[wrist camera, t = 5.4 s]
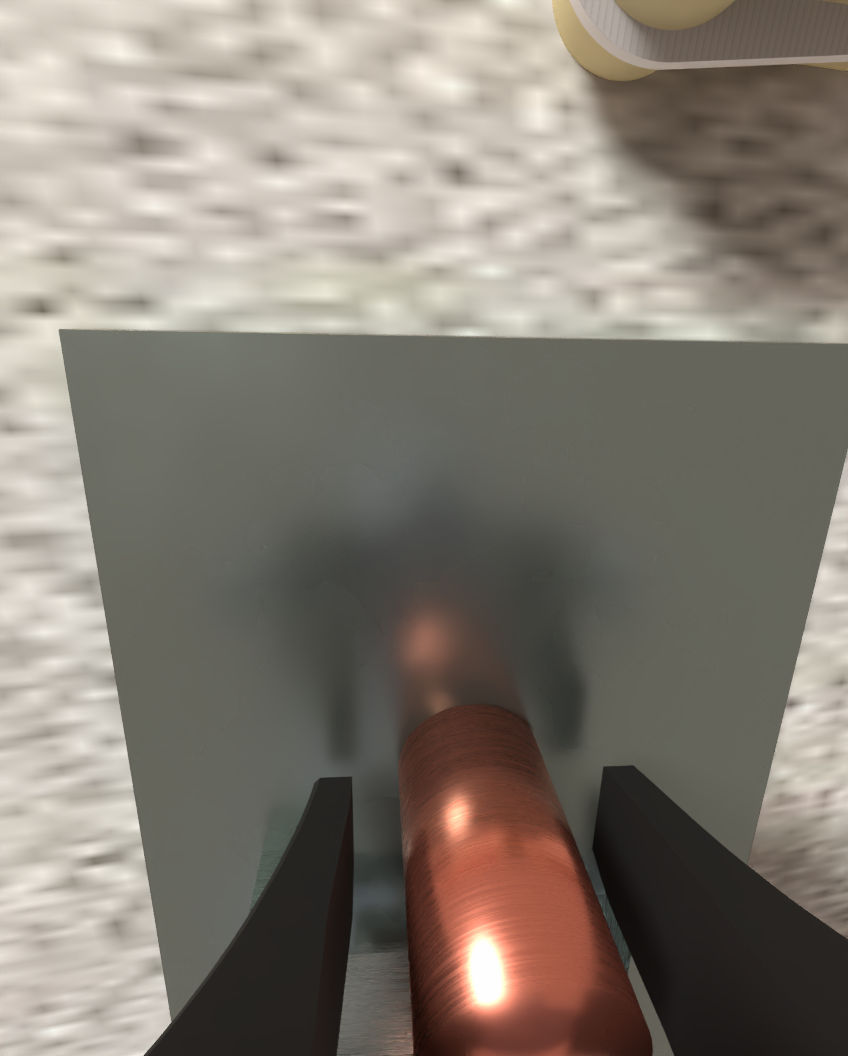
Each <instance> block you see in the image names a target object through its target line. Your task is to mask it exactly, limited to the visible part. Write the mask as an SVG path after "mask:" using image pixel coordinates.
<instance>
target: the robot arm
mask: <svg viewBox="0 0 848 1056" xmlns="http://www.w3.org/2000/svg"><path fill="white" fill-rule="evenodd" d="M592 849H593V852H594V856H595V859H596V863H597V866H598V869H599V873H600V876H601V879H602V883H603V886H604V889H605V892H606V895H607V898H608V901H609V904H610V907H611V909H612V911H613V914H614V916H615V919H616V921H617V923H618V926H619V928H620V930H621V933H622V935H623V937H624V940H625V942H626V944H627V947H628V949H629V951H630V954H631V956H632V958H633V960H634V963H635V965H636V967H637V970H638V972H639V974H640V976H641V979H642V981H643V983H644V986H645V988H646V990H647V993H648V995H649V997H650V999H651V1002H652V1004H653V1006H654V1009H655V1011H656V1013H657V1016H658V1018H659V1020H660V1022H661V1025H662V1027H663V1029H664V1032H665V1034H666V1037H667V1039H668V1042H669V1044H670V1047H671V1049H672V1052H673V1054H674V1056H848V939H846V938H845V937H843V936H842V935H840V934H839V933H838V932H836V931H835V930H833V929H832V928H830V927H829V926H828V925H826V924H825V923H823V922H822V921H820V920H819V919H818V918H816V917H815V916H813V915H812V914H810V913H809V912H808V911H806V910H805V909H803V908H802V907H801V906H799V905H798V904H796V903H795V902H794V901H792V900H791V899H790V898H788V897H787V896H786V895H784V894H783V893H782V892H780V891H779V890H778V889H777V888H775V887H774V886H773V885H772V884H770V883H769V882H768V881H766V880H765V879H764V878H763V877H761V876H760V875H759V874H758V873H756V872H755V871H754V870H752V869H751V868H750V867H749V866H747V865H746V864H745V863H744V862H743V861H741V860H740V859H739V858H738V857H737V856H735V855H734V854H733V853H732V852H730V851H729V850H728V849H727V848H726V847H725V846H723V845H722V844H721V843H720V842H719V841H718V840H716V839H715V838H714V837H713V836H712V835H711V834H709V833H708V832H707V831H706V830H705V829H704V828H703V827H701V826H700V825H699V824H698V823H697V822H696V821H695V820H694V819H692V818H691V817H690V816H689V815H688V814H687V813H686V812H685V811H684V810H682V809H681V808H680V807H679V806H678V805H677V804H676V803H675V802H674V801H672V800H671V799H670V798H669V797H668V796H667V795H666V794H665V793H664V792H663V791H662V790H660V789H659V788H658V787H657V786H656V785H655V784H654V783H653V782H652V781H651V780H649V779H648V778H647V777H646V776H645V775H644V774H643V773H642V772H640V771H639V770H638V769H637V768H636V767H635V766H634V765H627V766H603V772H602V780H601V787H600V795H599V802H598V809H597V817H596V824H595V831H594V839H593V846H592ZM353 884H354V835H353V792H352V776H350V777H325V778H319V779H318V780H317V781H316V782H315V783H314V785H313V789H312V792H311V795H310V797H309V800H308V802H307V805H306V807H305V810H304V812H303V815H302V817H301V819H300V821H299V823H298V826H297V828H296V830H295V832H294V834H293V836H292V838H291V840H290V842H289V844H288V846H287V848H286V850H285V852H284V854H283V856H282V857H281V859H280V861H279V863H278V865H277V867H276V869H275V871H274V873H273V874H272V876H271V878H270V880H269V881H268V883H267V885H266V886H265V888H264V890H263V892H262V893H261V895H260V897H259V898H258V900H257V902H256V903H255V905H254V907H253V908H252V910H251V912H250V913H249V915H248V917H247V918H246V920H245V921H244V923H243V924H242V926H241V928H240V929H239V931H238V932H237V934H236V935H235V937H234V938H233V940H232V941H231V943H230V944H229V946H228V947H227V949H226V950H225V951H224V953H223V954H222V956H221V957H220V959H219V960H218V961H217V963H216V964H215V966H214V967H213V969H212V970H211V971H210V973H209V974H208V976H207V977H206V978H205V980H204V981H203V982H202V983H201V985H200V986H199V987H198V989H197V990H196V991H195V993H194V994H193V995H192V997H191V998H190V999H189V1001H188V1002H187V1003H186V1005H185V1006H184V1007H183V1009H182V1010H181V1011H180V1012H179V1014H178V1015H177V1016H176V1017H175V1019H174V1020H173V1021H172V1022H171V1024H170V1025H169V1026H168V1027H167V1029H166V1030H165V1031H164V1032H163V1034H162V1035H161V1036H160V1037H159V1038H158V1040H157V1041H156V1042H155V1043H154V1044H153V1045H152V1047H151V1048H150V1049H149V1050H148V1051H147V1052H146V1053H145V1055H144V1056H337V1049H338V1040H339V1032H340V1023H341V1014H342V1006H343V997H344V989H345V980H346V971H347V963H348V954H349V945H350V936H351V928H352V919H353Z"/></svg>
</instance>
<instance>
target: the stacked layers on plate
mask: <svg viewBox="0 0 848 1056" xmlns="http://www.w3.org/2000/svg"><path fill="white" fill-rule="evenodd" d="M552 2H553V11H554V17H555V21H556V25H557V28H558V31H559V34H560V36H561V38H562V41H563V43H564V44H565V46H566V48H567V49H568V51H569V52H570V54H571V55H572V56H573V58H574V59H575V60H576V61H577V62H578V63H579V64H580V65H581V66H582V67H584V68H585V69H586V70H588V71H589V72H591V73H592V74H594V75H596V76H599V77H601V78H604V79H608V80H612V81H631V80H636V79H639V78H642V77H645V76H647V75H650V74H652V73H653V72H655V71H657V70H667V69H690V68H713V67H736V66H759V65H783V64H802V65H809V66H815V67H822V68H829V69H836V70H842V71H848V0H552Z"/></svg>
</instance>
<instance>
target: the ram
mask: <svg viewBox="0 0 848 1056" xmlns="http://www.w3.org/2000/svg"><path fill="white" fill-rule="evenodd" d="M398 778H399V797H400V816H401V834H402V853H403V871H404V890H405V908H406V927H407V945H408V951H402V952H387V953H371V954H355V955H348V963H347V971H346V980H345V989H344V997H343V1006H342V1014H341V1023H340V1032H339V1040H338V1049H337V1056H652V1054H653V1045H652V1038H651V1034H650V1031H649V1028H648V1025H647V1023H646V1020H645V1018H644V1015H643V1013H642V1010H641V1008H640V1005H639V1003H638V1000H637V997H636V995H635V992H634V990H633V987H632V985H631V982H630V980H629V977H628V974H627V972H626V969H625V967H624V964H623V962H622V959H621V957H620V954H619V951H618V949H617V946H616V944H615V941H614V939H613V936H612V934H611V931H610V928H609V926H608V923H607V921H606V918H605V916H604V913H603V911H602V908H601V905H600V903H599V900H598V898H597V895H596V893H595V890H594V888H593V885H592V882H591V880H590V877H589V875H588V872H587V870H586V867H585V865H584V862H583V859H582V857H581V854H580V852H579V849H578V847H577V844H576V842H575V839H574V836H573V834H572V831H571V829H570V826H569V824H568V821H567V819H566V816H565V813H564V811H563V808H562V806H561V803H560V801H559V798H558V796H557V793H556V790H555V788H554V785H553V783H552V780H551V778H550V775H549V773H548V770H547V767H546V765H545V762H544V760H543V757H542V755H541V752H540V750H539V747H538V744H537V742H536V740H535V738H534V736H533V734H532V732H531V731H530V729H529V728H528V727H527V726H526V725H525V724H524V723H523V722H522V721H521V720H520V719H519V718H517V717H516V716H514V715H513V714H511V713H509V712H507V711H505V710H502V709H500V708H496V707H492V706H486V705H463V706H458V707H453V708H450V709H447V710H444V711H442V712H439V713H437V714H435V715H433V716H432V717H430V718H428V719H427V720H425V721H424V722H423V723H421V724H420V725H419V726H418V727H417V728H416V729H415V730H414V731H413V732H412V733H411V735H410V736H409V737H408V739H407V740H406V742H405V744H404V746H403V748H402V751H401V753H400V757H399V762H398Z"/></svg>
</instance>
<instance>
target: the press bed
mask: <svg viewBox="0 0 848 1056" xmlns="http://www.w3.org/2000/svg"><path fill="white" fill-rule="evenodd" d="M59 335H60V341H61V347H62V353H63V359H64V365H65V371H66V377H67V384H68V390H69V396H70V402H71V408H72V414H73V420H74V427H75V433H76V439H77V445H78V451H79V457H80V463H81V469H82V476H83V482H84V488H85V494H86V500H87V506H88V512H89V519H90V525H91V531H92V537H93V543H94V549H95V555H96V561H97V568H98V574H99V580H100V586H101V592H102V598H103V604H104V611H105V617H106V623H107V629H108V635H109V641H110V647H111V653H112V660H113V666H114V672H115V678H116V684H117V690H118V696H119V703H120V709H121V715H122V721H123V727H124V733H125V739H126V745H127V752H128V758H129V764H130V770H131V776H132V782H133V788H134V795H135V801H136V807H137V813H138V819H139V825H140V831H141V837H142V844H143V850H144V856H145V862H146V868H147V874H148V880H149V887H150V893H151V899H152V905H153V911H154V917H155V923H156V929H157V936H158V942H159V948H160V954H161V960H162V966H163V972H164V979H165V985H166V991H167V997H168V1003H169V1009H170V1015H171V1021H173V1020H174V1019H175V1017H176V1016H177V1015H178V1014H179V1012H180V1011H181V1010H182V1009H183V1007H184V1006H185V1005H186V1003H187V1002H188V1001H189V999H190V998H191V997H192V995H193V994H194V993H195V991H196V990H197V989H198V987H199V986H200V985H201V983H202V982H203V981H204V980H205V978H206V977H207V976H208V974H209V973H210V971H211V970H212V969H213V967H214V966H215V964H216V963H217V961H218V960H219V959H220V957H221V956H222V954H223V953H224V951H225V950H226V949H227V947H228V946H229V944H230V943H231V941H232V940H233V938H234V937H235V935H236V934H237V932H238V931H239V929H240V928H241V926H242V924H243V923H244V921H245V920H246V918H247V917H248V915H249V913H250V912H251V910H252V908H253V907H254V905H255V903H256V902H257V900H258V898H259V897H260V895H261V893H262V892H263V890H264V888H265V886H266V885H267V883H268V881H269V880H270V878H271V876H272V874H273V873H274V871H275V869H276V867H277V865H278V863H279V861H280V859H281V857H282V856H283V854H284V852H285V850H286V848H287V846H288V844H289V842H290V840H291V838H292V836H293V834H294V832H295V830H296V828H297V826H298V823H299V821H300V819H301V817H302V815H303V812H304V810H305V807H306V805H307V802H308V800H309V797H310V795H311V792H312V789H313V785H314V783H315V782H316V781H317V780H318V779H319V778H325V777H350V776H352V792H353V835H354V884H353V919H352V928H351V936H350V945H349V954H348V955H355V954H371V953H387V952H402V951H408V945H407V927H406V908H405V890H404V871H403V853H402V834H401V816H400V797H399V778H398V762H399V757H400V753H401V751H402V748H403V746H404V744H405V742H406V740H407V739H408V737H409V736H410V735H411V733H412V732H413V731H414V730H415V729H416V728H417V727H418V726H419V725H420V724H421V723H423V722H424V721H425V720H427V719H428V718H430V717H432V716H433V715H435V714H437V713H439V712H442V711H444V710H447V709H450V708H453V707H458V706H463V705H486V706H492V707H496V708H500V709H502V710H505V711H507V712H509V713H511V714H513V715H514V716H516V717H517V718H519V719H520V720H521V721H522V722H523V723H524V724H525V725H526V726H527V727H528V728H529V729H530V731H531V732H532V734H533V736H534V738H535V740H536V742H537V744H538V747H539V750H540V752H541V755H542V757H543V760H544V762H545V765H546V767H547V770H548V773H549V775H550V778H551V780H552V783H553V785H554V788H555V790H556V793H557V796H558V798H559V801H560V803H561V806H562V808H563V811H564V813H565V816H566V819H567V821H568V824H569V826H570V829H571V831H572V834H573V836H574V839H575V842H576V844H577V847H578V849H579V852H580V854H581V857H582V859H583V862H584V865H585V867H586V870H587V872H588V875H589V877H590V880H591V882H592V885H593V888H594V890H595V893H596V895H597V898H598V900H599V903H600V905H601V908H602V911H603V913H604V916H605V918H606V921H607V923H608V926H609V928H610V931H611V934H612V936H613V939H614V941H615V944H616V946H617V949H618V951H619V954H620V957H621V959H622V962H623V964H624V967H625V969H626V972H627V974H628V977H629V980H630V982H631V985H632V987H633V990H634V992H635V995H636V997H637V1000H638V1003H639V1005H640V1008H641V1010H642V1013H643V1015H644V1018H645V1020H646V1023H647V1025H648V1028H649V1031H650V1034H651V1038H652V1045H653V1054H652V1056H674V1054H673V1052H672V1049H671V1047H670V1044H669V1042H668V1039H667V1037H666V1034H665V1032H664V1029H663V1027H662V1025H661V1022H660V1020H659V1018H658V1016H657V1013H656V1011H655V1009H654V1006H653V1004H652V1002H651V999H650V997H649V995H648V993H647V990H646V988H645V986H644V983H643V981H642V979H641V976H640V974H639V972H638V970H637V967H636V965H635V963H634V960H633V958H632V956H631V954H630V951H629V949H628V947H627V944H626V942H625V940H624V937H623V935H622V933H621V930H620V928H619V926H618V923H617V921H616V919H615V916H614V914H613V911H612V909H611V907H610V904H609V901H608V898H607V895H606V892H605V889H604V886H603V883H602V879H601V876H600V873H599V869H598V866H597V863H596V859H595V856H594V852H593V849H592V846H593V839H594V831H595V824H596V817H597V809H598V802H599V795H600V787H601V780H602V772H603V766H627V765H634V766H635V767H636V768H637V769H638V770H639V771H640V772H642V773H643V774H644V775H645V776H646V777H647V778H648V779H649V780H651V781H652V782H653V783H654V784H655V785H656V786H657V787H658V788H659V789H660V790H662V791H663V792H664V793H665V794H666V795H667V796H668V797H669V798H670V799H671V800H672V801H674V802H675V803H676V804H677V805H678V806H679V807H680V808H681V809H682V810H684V811H685V812H686V813H687V814H688V815H689V816H690V817H691V818H692V819H694V820H695V821H696V822H697V823H698V824H699V825H700V826H701V827H703V828H704V829H705V830H706V831H707V832H708V833H709V834H711V835H712V836H713V837H714V838H715V839H716V840H718V841H719V842H720V843H721V844H722V845H723V846H725V847H726V848H727V849H728V850H729V851H730V852H732V853H733V854H734V855H735V856H737V857H738V858H739V859H740V860H741V861H743V862H744V863H745V864H746V865H747V863H748V859H749V855H750V851H751V847H752V843H753V839H754V834H755V830H756V826H757V822H758V818H759V814H760V810H761V805H762V801H763V797H764V793H765V789H766V785H767V781H768V776H769V772H770V768H771V764H772V760H773V756H774V752H775V747H776V743H777V739H778V735H779V731H780V727H781V723H782V718H783V714H784V710H785V706H786V702H787V698H788V694H789V689H790V685H791V681H792V677H793V673H794V669H795V665H796V660H797V656H798V652H799V648H800V644H801V640H802V636H803V631H804V627H805V623H806V619H807V615H808V611H809V607H810V602H811V598H812V594H813V590H814V586H815V582H816V578H817V573H818V569H819V565H820V561H821V557H822V553H823V549H824V544H825V540H826V536H827V532H828V528H829V524H830V520H831V515H832V511H833V507H834V503H835V499H836V495H837V491H838V486H839V482H840V478H841V474H842V470H843V466H844V462H845V457H846V453H847V449H848V343H814V342H761V341H707V340H653V339H600V338H546V337H492V336H439V335H385V334H331V333H277V332H224V331H170V330H116V329H59Z"/></svg>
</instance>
